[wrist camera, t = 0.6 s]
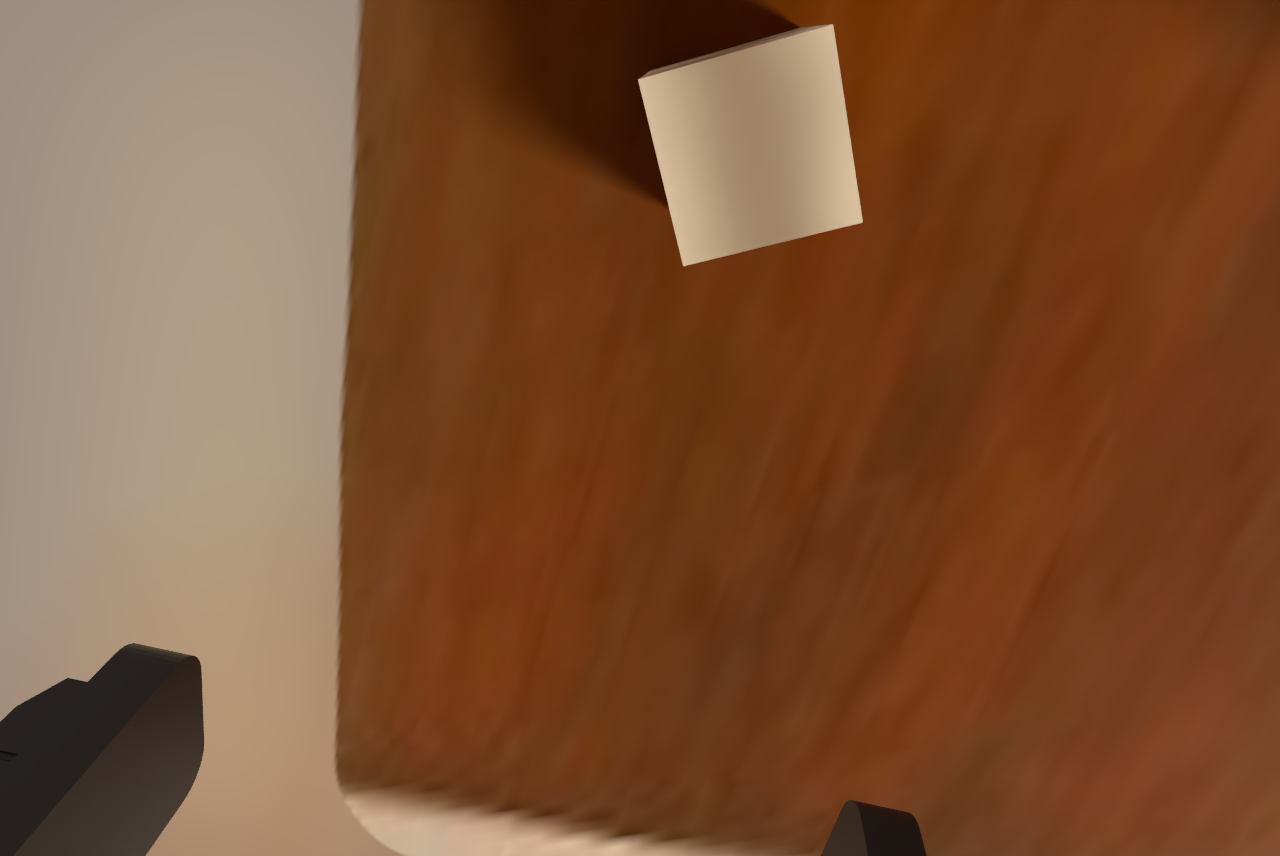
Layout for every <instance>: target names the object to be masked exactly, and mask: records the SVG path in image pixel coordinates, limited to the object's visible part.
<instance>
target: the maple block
mask: <svg viewBox="0 0 1280 856" xmlns="http://www.w3.org/2000/svg"><path fill="white" fill-rule="evenodd" d="M638 82H639V86H640V90H641V94H642V98H643V102H644V106H645V111H646V115H647V119H648V123H649V127H650V131H651V135H652V139H653V143H654V148H655V152H656V156H657V160H658V164H659V168H660V172H661V176H662V180H663V185H664V189H665V193H666V197H667V201H668V205H669V209H670V213H671V218H672V222H673V226H674V230H675V234H676V238H677V242H678V246H679V250H680V255H681V259H682V263H683V266H686V265H690V264H694V263H698V262H703V261H707V260H711V259H715V258H719V257H723V256H727V255H731V254H735V253H739V252H744V251H748V250H752V249H756V248H760V247H764V246H768V245H772V244H776V243H780V242H785V241H789V240H793V239H797V238H801V237H805V236H809V235H813V234H817V233H821V232H826V231H830V230H834V229H838V228H842V227H846V226H850V225H854V224H858V223H862V222H863V221H862V214H861V207H860V201H859V194H858V187H857V181H856V174H855V167H854V161H853V154H852V147H851V141H850V134H849V127H848V121H847V114H846V107H845V101H844V94H843V87H842V81H841V74H840V67H839V61H838V54H837V47H836V41H835V34H834V27H833V24H831V25H821V26H812V27H803V28H798V29H794V30H791V31H787V32H784V33H780V34H777V35H773V36H770V37H766V38H763V39H759V40H756V41H752V42H749V43H745V44H741V45H738V46H734V47H731V48H727V49H724V50H720V51H717V52H713V53H710V54H706V55H703V56H699V57H696V58H692V59H689V60H685V61H682V62H678V63H675V64H671V65H668V66H664V67H661V68H657V69H654V70H650V71H649V72H648V73H646V74H645V75H643V76H642V77H641V78H639V79H638Z"/></svg>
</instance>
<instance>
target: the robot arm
mask: <svg viewBox="0 0 1280 856" xmlns="http://www.w3.org/2000/svg"><path fill="white" fill-rule="evenodd" d="M201 676H202V675H201V664H200V661H199V660H198V658H197V657H195V656H191V655H186V654H182V653H177V652H173V651H168V650H163V649H158V648H154V647H149V646H145V645H140V644H135V643H133V644H129V645H126V646H124V647H123V648H122V649H120V650H119V651H118V652H117V653H116V654H115V655H114V656H113V657H112V658H111V659H110V660H109V661H108V662H107V663H106V664H105V665H104V666H103V667H102V668H101V669H100V670H99V671H98V672H97V673H96V674H95V675H94V676H93V677H92V678H91V679H90V681H88V682H84V681H79V680H74V679H70V678H67V679H65V680H63V681H61V682H60V683H58V684H56V685H54V686H52V687H51V688H49V689H47V690H45V691H43V692H42V693H40V694H38V695H36V696H35V697H33V698H31V699H29V700H27V701H25V702H24V703H22V704H20V705H18V706H17V707H15V708H14V709H13V710H12V711H11V712H10V713H9V714H8V715H7V716H6V717H5V718H4V719H3V720H2V721H1V722H0V856H146V854H147V853H148V851H149V850H150V848H151V847H152V845H153V844H154V843H155V841H156V840H157V838H158V837H159V835H160V834H161V833H162V831H163V830H164V828H165V827H166V825H167V824H168V823H169V821H170V820H171V818H172V817H173V815H174V814H175V812H176V811H177V810H178V808H179V807H180V805H181V804H182V802H183V801H184V799H185V798H186V796H187V794H188V793H189V791H190V789H191V787H192V785H193V783H194V781H195V778H196V776H197V773H198V770H199V767H200V764H201V761H202V756H203V751H204V730H203V728H204V727H203V703H202V702H203V701H202V678H201ZM821 856H926V852H925V848H924V844H923V840H922V837H921V833H920V829H919V826H918V823H917V821H916V819H915V818H914V816H913V815H912V814H911V813H908V812H904V811H899V810H894V809H890V808H885V807H880V806H876V805H871V804H867V803H862V802H857V801H853V800H850V801H848V802H846V803H845V805H844V806H843V808H842V810H841V812H840V814H839V817H838V819H837V821H836V823H835V825H834V828H833V830H832V832H831V834H830V837H829V839H828V841H827V843H826V846H825V848H824V850H823V852H822V854H821Z"/></svg>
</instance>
